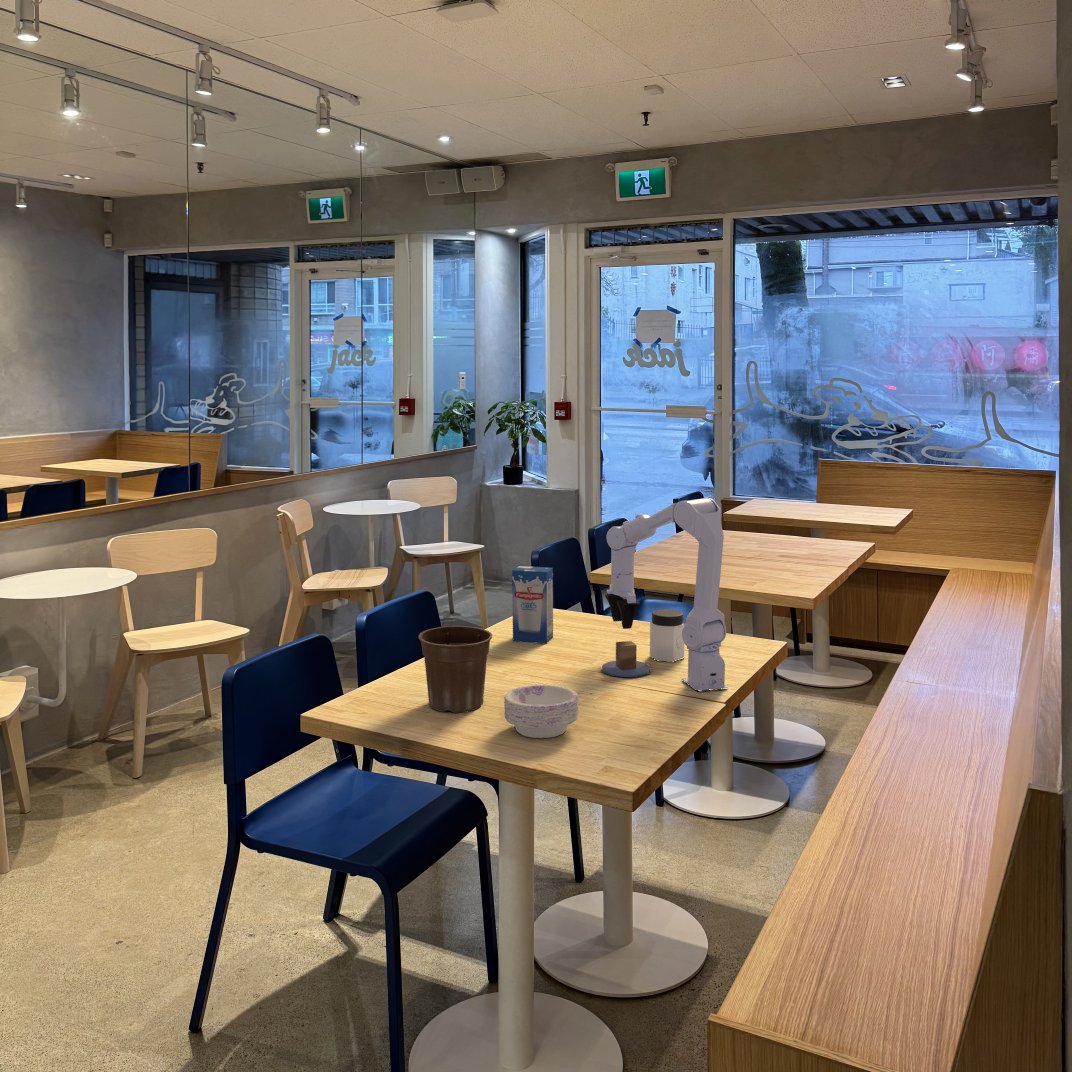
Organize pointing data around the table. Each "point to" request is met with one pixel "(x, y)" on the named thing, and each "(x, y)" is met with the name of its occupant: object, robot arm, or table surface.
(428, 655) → the plant pot
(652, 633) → the jar
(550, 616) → the milk carton
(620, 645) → the walnut block
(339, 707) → the table surface
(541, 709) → the paper bowls
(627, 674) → the blue-grey round disc
